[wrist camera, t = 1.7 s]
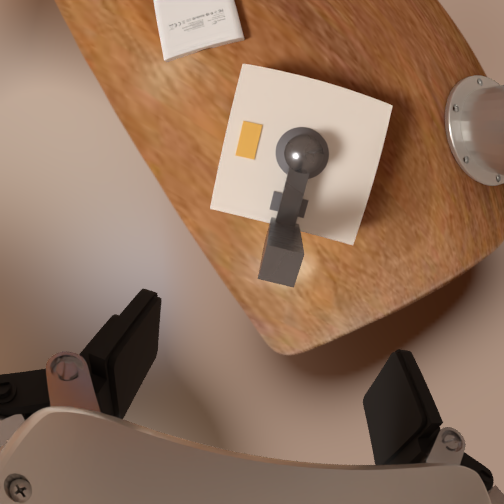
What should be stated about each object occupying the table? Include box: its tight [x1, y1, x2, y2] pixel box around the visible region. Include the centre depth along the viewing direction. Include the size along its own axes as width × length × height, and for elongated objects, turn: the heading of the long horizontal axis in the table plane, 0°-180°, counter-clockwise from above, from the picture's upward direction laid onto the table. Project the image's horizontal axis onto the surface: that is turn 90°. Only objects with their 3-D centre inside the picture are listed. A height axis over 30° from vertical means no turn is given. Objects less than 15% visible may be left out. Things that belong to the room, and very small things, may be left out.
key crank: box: [258, 135, 324, 287], centre depth 21 cm, size 10×3×7 cm, turn 167°
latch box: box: [210, 64, 393, 245], centre depth 25 cm, size 13×13×4 cm
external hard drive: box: [154, 0, 245, 62], centre depth 22 cm, size 2×8×12 cm
